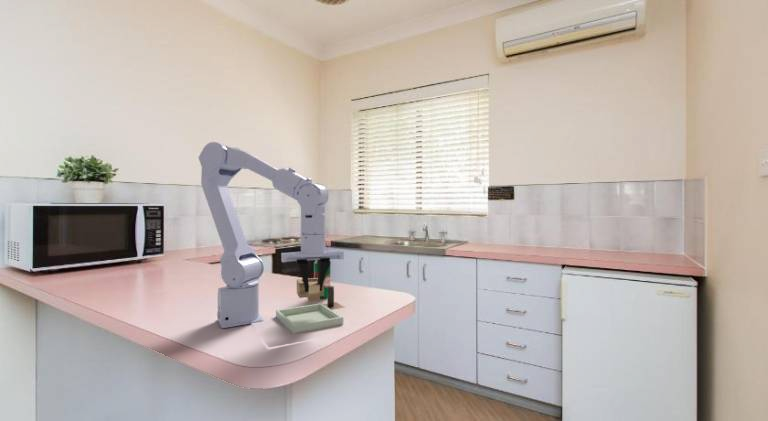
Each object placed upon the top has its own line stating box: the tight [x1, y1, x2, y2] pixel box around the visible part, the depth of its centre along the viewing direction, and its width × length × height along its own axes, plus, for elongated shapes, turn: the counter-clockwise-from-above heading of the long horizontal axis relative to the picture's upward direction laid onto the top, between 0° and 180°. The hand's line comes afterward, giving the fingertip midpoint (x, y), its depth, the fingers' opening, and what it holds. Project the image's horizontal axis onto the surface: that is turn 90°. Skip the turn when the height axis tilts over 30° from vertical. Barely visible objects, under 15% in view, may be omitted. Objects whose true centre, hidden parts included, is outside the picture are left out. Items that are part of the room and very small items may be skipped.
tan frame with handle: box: [296, 277, 324, 302], centre depth 89 cm, size 10×6×4 cm, turn 20°
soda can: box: [313, 260, 332, 300], centre depth 111 cm, size 5×5×12 cm
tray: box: [275, 303, 344, 335], centre depth 88 cm, size 12×14×2 cm
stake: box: [322, 285, 346, 311], centre depth 100 cm, size 6×6×6 cm
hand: (313, 290), depth 86 cm, fingers closed on tan frame with handle, 2 cm apart
